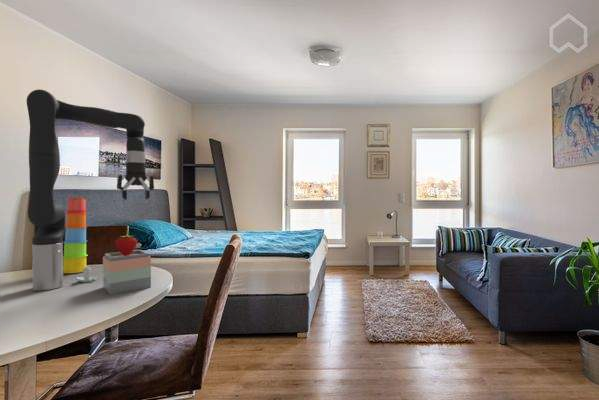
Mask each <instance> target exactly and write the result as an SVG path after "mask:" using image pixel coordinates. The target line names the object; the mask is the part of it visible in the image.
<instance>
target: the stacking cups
mask: <svg viewBox="0 0 599 400" xmlns="http://www.w3.org/2000/svg"><path fill="white" fill-rule="evenodd" d="M66 210H67V211H66V218H65V233H64V240H63V244H64V245H63V246H64V247H63V249H64V250H63V274H78V273H83V269H84V268H86V267H87V257H88V256H89V255H88V254H87V242H88V240H87V228H88V226H87V214H88V213H87V212H86V211H87V200H86V198H84V197H83V198H82V197H79V198H78V197H69V198H68V199H67V209H66Z"/></svg>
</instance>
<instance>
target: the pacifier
mask: <svg viewBox="0 0 599 400" xmlns="http://www.w3.org/2000/svg"><path fill="white" fill-rule="evenodd" d="M91 273H92V268H90V267H89V266H86V268H84V269H83V272H82V274H83V276H77V277H76V278H75V279H76V280H78V282H81V283H90V282H93V281H95V280H97V277H98V274H95V275H92V276H91Z"/></svg>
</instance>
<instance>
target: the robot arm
mask: <svg viewBox="0 0 599 400" xmlns="http://www.w3.org/2000/svg"><path fill="white" fill-rule="evenodd" d="M26 107H27V111H28V112H27V113H28V121H29V138H28V168H29V173H28V174H29V196H28V205H27V218H28V220H29V222H30V223H31V224H32V225H34V226H36V227H37V228H36V233H35V234H34V235H33V237H32V240H31V241H32V242H31V243H32V244H31V246H32V265H31V266H32V292H35V291H36V292H37V291H49V290H53V289H54V290H55V289H58V288H61V287H63V286H64V273H63V260H64V258H63V256H64V250H63V249H64V247H63V246H64V245H63V244H64V240H63V239H64V237H65V232H66V228H65V227H66V212H65V209H64V207H63V206H62V205H61V204H60V203H59V202H54V201H55V200H54V188H55V184H56V181H57V179H58V176H59V174H60V170H61V169H60V168H61V167H60V166H61V160H60V159H61V158H60V155H61V154H60V146H59V142H58V138H57V134H56V127H55V122H56V120H57V119H58V120H69V121H76V122H81V123H86V124H91V125H95V126H99V127H100V126H101V127H105V128H110V129H124V130H126V144H125V145H126V154H125V175H122V174H118V175H117V178H116V189H117V190H120V191H121V197H122V199H123V200H126V201H127V199H128V198H127V197H128V192H127V189H128V188H129V187H130V186H139V187H140V186H141V187H142V188H143V189H144V200H149V198H150V196H151V195H150V192H151V190H155V183H154V176H153V175H150V176H149V175H148V176H147V174H146V153H145V150H146V149H145V146H146V145H145V141H144V139H145V137H144V136H145V135H144V131H145V130H144V129H145V126H146V123H145V120H144V118H143V117H142V116H140V115H137V114H134V113H127V112H117V111H115V110H110V109H105V108H101V107H94V106H93V107H92V106H84V105H83V106H82V105H76V104H70V103H67V102H64V101H61V100H58V99H56V97H55V96H54V95H53V94H52V93H50V92H49V91H47V90H44V89H34V90H32V91H31V92H30V93H29V94H28V95H27V97H26ZM124 179H125V181H126V182H125V184H124V185H123V186H122V184H123V180H124ZM146 180H147V181H148V184H147V183H146V182H145V181H146ZM148 185H149V186H148Z"/></svg>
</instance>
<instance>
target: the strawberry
mask: <svg viewBox="0 0 599 400" xmlns="http://www.w3.org/2000/svg"><path fill="white" fill-rule="evenodd" d="M126 233H127V235H122V236H119V238H117V239H116V240H115V243H114V244H115V246H116V249H117V250H118V252H121V253H122V254H123V255H124V256H127V255H130V254H131V253H132V251H134V250H136V249H135V248H136V247H137V244H138V240H137V239H136V238H135V237H134V235H129V233H128V231H126Z"/></svg>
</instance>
